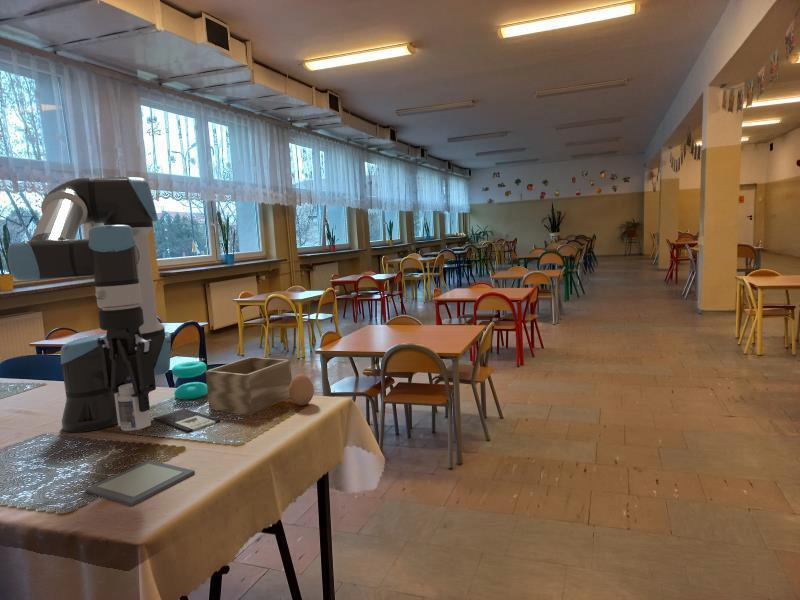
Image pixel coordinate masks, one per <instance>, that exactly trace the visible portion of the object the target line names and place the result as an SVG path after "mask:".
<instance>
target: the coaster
mask: <svg viewBox="0 0 800 600" xmlns="http://www.w3.org/2000/svg"><path fill="white" fill-rule="evenodd" d="M195 474H196V472H195V470H194V469H190V468H187V467H181V466H176V465H173V464H172V465H171V464H169V463H164V462H160V461H155V460H150V459H148V460H146V461H144V462H142V463H139V464H137V465H136V466H133V467H131V468H129V469H127V470H124V471H122V472H120V473H118V474H115V475H113V476H111V477H109V478H106V479H104V480H101V481H100V482H97V483H95V484H93V485H90V486H88V487H86V488H84V491H85V492H86V493H89V494H92V495H96V496H99V497H102V498H105V499H109V500H111V501H113V502H114V501H115V502H117V503H121V504H125V505H126V506H127V505H128V506H135V505H136V504H138V503H140V502H143V501H144V500H146V499H148V498H150V497H151V496H154V495H156V494H158V493H159V492H161V491H163V490H166V489H168V488H169V487H172V486H174V485H175V484H177V483H179V482H182V481H183V480H185V479H187V478H189V477H191V476H193V475H195Z"/></svg>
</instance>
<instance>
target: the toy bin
mask: <svg viewBox="0 0 800 600" xmlns="http://www.w3.org/2000/svg"><path fill="white" fill-rule="evenodd" d="M204 373H205V380H206V381H205V382H206V385H207V392H208V393H207V401H208V409H209V410H212V409H213V411H218V410H221V411H220V412H225V411H228V412H227V413H231V412H236V413H235V414H238V413H241V415H244V414H247V415H246V416H252V415H255V414H257V413H259V412H262V411H263V409H264V410H265V409H268V408H270V407H272V405H273V406H274V404H275V405H277V404H279V403H282V402H283V400H284V401H285V400H288V399H291V398H290V395H289V386H290V383H291V381H292V379H293V377H292V367H291V359H283V358H282V359H281V358H271V357H257V356H250V357H246V358H243V359H240V360H235V361H233V362H230V363H227V364H223V365H221V366H218V367H213V368H210V369H208V370H207V369H206V371H205V372H204ZM278 402H279V403H278ZM276 403H277V404H276ZM254 413H255V414H254Z"/></svg>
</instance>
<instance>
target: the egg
mask: <svg viewBox="0 0 800 600" xmlns="http://www.w3.org/2000/svg"><path fill="white" fill-rule="evenodd" d="M314 390H315V389H314V384H313V382H312V380H311V379H310V378H309V376H308V375H306V374H303V373H298V374H296V375H294V377H292V381H291V383H290V386H289V395H290V398H289V399H290V400H291V402H292V403H293V404H295V405H297V406H302V407H303V406H306V405H308V404H309V403H310V402H311V401H312V399H313V397H314V394H315V391H314Z"/></svg>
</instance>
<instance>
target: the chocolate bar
mask: <svg viewBox="0 0 800 600" xmlns="http://www.w3.org/2000/svg"><path fill="white" fill-rule="evenodd" d="M153 421H156V422H158V423H161V424H164V425H166V426H168V427H171V428H174V429H176V430H179V431H182V432H185V433H188V434H189V433H191V432H194V431H197V430H200V429H204V428H206V427H209V426H213V425H216V424H218V423H220V422H221V419H218V418H216V417H213V416H209V415H206V414H203V413H199V412H196V411H194V410H191V409H187V408H182V409H179V410H176V411H173V412H169V413H165V414H162V415H159V416H155V417H153Z"/></svg>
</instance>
